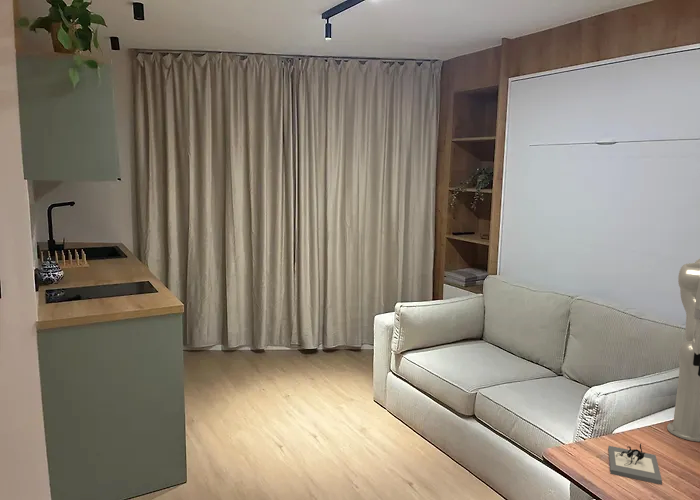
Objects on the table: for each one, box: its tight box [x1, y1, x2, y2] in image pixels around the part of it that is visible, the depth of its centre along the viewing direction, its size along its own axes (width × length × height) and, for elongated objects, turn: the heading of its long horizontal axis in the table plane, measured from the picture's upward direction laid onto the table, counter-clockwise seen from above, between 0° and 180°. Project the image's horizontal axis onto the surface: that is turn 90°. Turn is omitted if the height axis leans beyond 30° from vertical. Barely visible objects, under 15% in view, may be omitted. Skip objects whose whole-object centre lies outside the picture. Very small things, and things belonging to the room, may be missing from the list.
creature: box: [616, 443, 646, 466], centre depth 167 cm, size 8×5×8 cm
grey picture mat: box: [607, 445, 663, 486], centre depth 167 cm, size 16×13×1 cm
